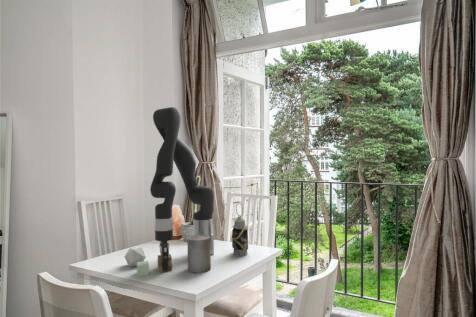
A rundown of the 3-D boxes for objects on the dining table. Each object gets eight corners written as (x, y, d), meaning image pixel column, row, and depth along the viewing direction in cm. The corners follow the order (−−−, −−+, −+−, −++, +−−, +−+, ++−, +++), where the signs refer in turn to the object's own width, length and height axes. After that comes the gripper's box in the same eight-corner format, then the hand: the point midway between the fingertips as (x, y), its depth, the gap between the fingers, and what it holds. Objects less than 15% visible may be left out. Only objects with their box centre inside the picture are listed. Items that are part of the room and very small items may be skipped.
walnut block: (170, 266, 153) (170, 254, 153) (172, 270, 148) (171, 257, 148) (157, 268, 151) (157, 255, 151) (158, 272, 146) (158, 258, 146)
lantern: (251, 254, 169) (250, 202, 169) (237, 257, 166) (236, 204, 165) (242, 250, 177) (241, 200, 177) (228, 252, 173) (227, 202, 173)
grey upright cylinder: (205, 264, 155) (204, 230, 155) (214, 270, 147) (213, 234, 146) (184, 268, 151) (183, 233, 151) (192, 274, 142) (191, 237, 142)
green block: (148, 271, 147) (148, 261, 147) (148, 275, 143) (148, 264, 143) (137, 272, 146) (137, 262, 146) (137, 276, 141) (137, 265, 141)
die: (134, 271, 150) (147, 251, 153) (118, 260, 151) (131, 241, 154) (139, 272, 157) (151, 253, 160) (123, 262, 159) (136, 243, 162)
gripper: (174, 231, 144) (175, 272, 144) (171, 224, 157) (172, 262, 157) (155, 232, 142) (156, 274, 142) (154, 226, 155) (154, 264, 155)
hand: (164, 267), depth 150 cm, fingers closed on walnut block, 5 cm apart
